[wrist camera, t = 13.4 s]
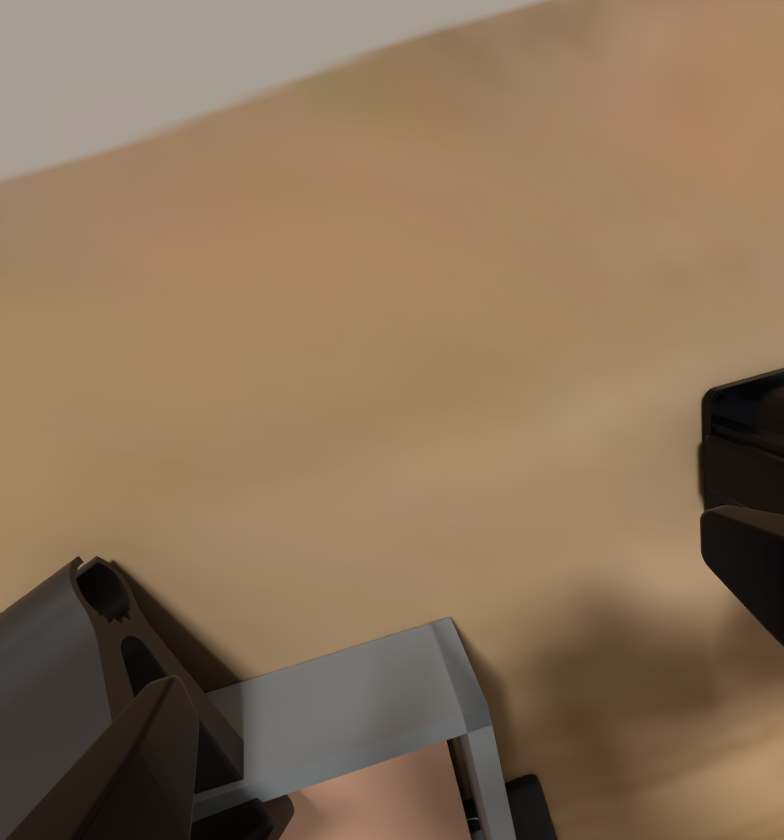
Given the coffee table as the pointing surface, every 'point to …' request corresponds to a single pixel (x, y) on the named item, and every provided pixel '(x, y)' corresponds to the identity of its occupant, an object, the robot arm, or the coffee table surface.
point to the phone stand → (100, 697)
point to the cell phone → (521, 810)
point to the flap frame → (363, 721)
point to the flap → (384, 802)
